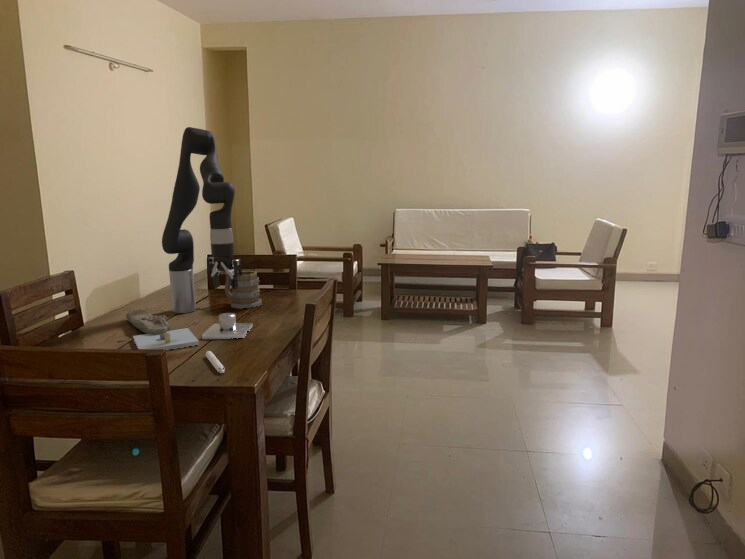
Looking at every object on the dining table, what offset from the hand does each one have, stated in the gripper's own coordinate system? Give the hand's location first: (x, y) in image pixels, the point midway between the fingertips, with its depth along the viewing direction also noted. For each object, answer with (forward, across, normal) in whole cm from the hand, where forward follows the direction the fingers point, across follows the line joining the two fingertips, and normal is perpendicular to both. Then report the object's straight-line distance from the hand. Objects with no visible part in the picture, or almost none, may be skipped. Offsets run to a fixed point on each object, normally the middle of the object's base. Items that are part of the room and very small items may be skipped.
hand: (225, 288), depth 191 cm
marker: (+17, -21, +26) cm, 37 cm away
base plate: (+16, +11, +18) cm, 27 cm away
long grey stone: (+16, +32, +9) cm, 37 cm away
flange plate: (+16, 0, 0) cm, 16 cm away
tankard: (+16, +28, -34) cm, 47 cm away
